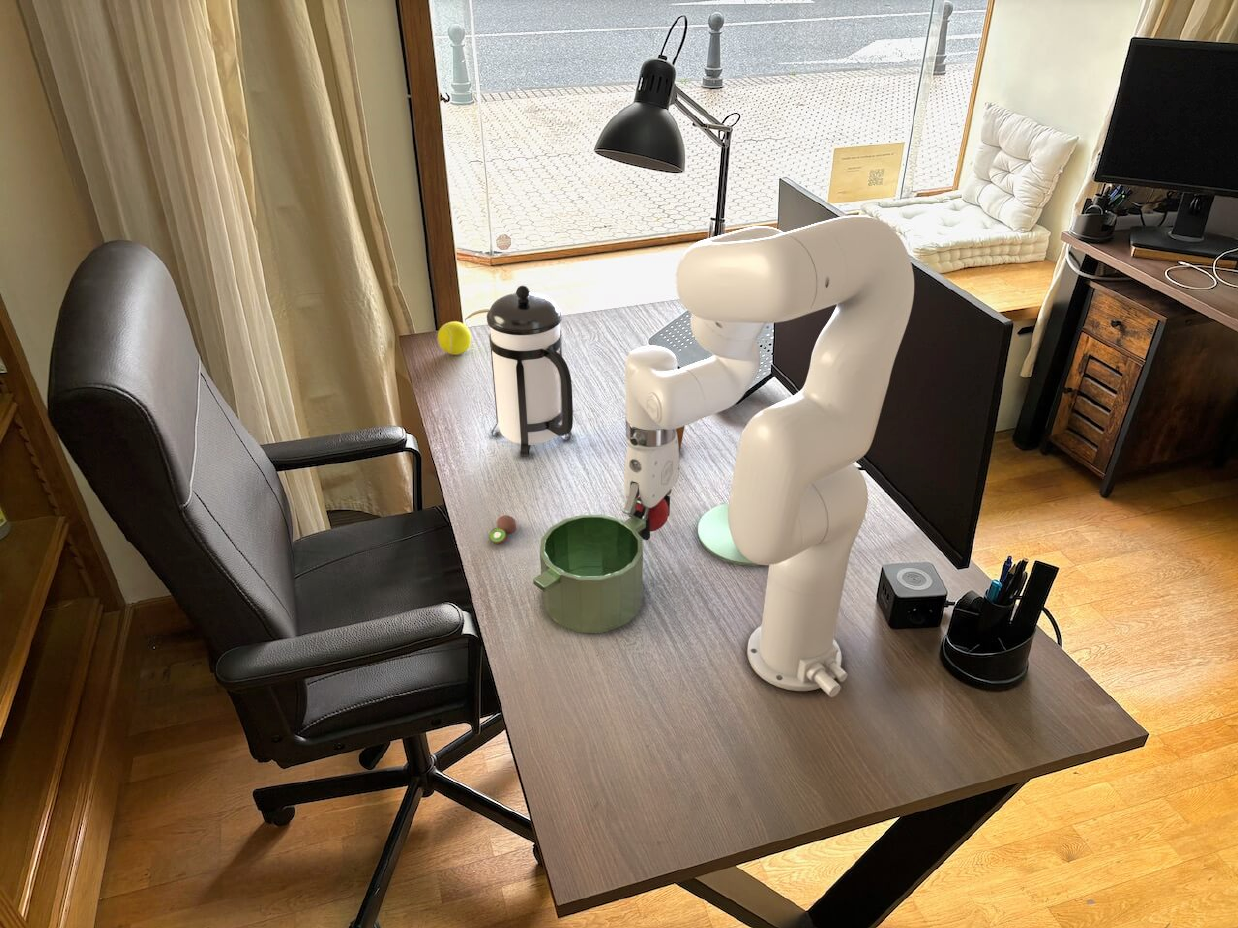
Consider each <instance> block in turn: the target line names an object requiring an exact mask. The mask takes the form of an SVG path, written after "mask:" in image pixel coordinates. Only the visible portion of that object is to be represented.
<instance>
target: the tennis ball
mask: <svg viewBox="0 0 1238 928" xmlns="http://www.w3.org/2000/svg"><path fill="white" fill-rule="evenodd" d="M437 342H438V345H439V347H440V349H442V351H443V352H444V353H446V354H449V355H453V356H457V355H458V356H459V355H461V354H463V353H465V352H467V351H468V350H469V349H470V347H471V344H472V333H471V331H470V329H469V328H468V327H467V326H466V324H465V323H463V322H460V321H457V320H454V321H453V320H452V321H449V322H446V323H444V324H443V325H441V327H440V328H439V330H438V332H437Z"/></svg>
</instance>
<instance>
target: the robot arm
mask: <svg viewBox="0 0 1238 928" xmlns="http://www.w3.org/2000/svg"><path fill="white" fill-rule="evenodd" d="M912 264H913V263H912V261H911V258H910V255H909V253H908V250H907V247H906V245H905V244H904V242H903V240H902V239H901V237H900V236H899V234H898V233H897V232H896V231H895V229H893V227H891V226H890V225H889V224H888V223H887V222H885V221H883V220H881V219H880V218H876V217H871V216H867V215H848V216H842V217H836V218H831V219H828V220H824V221H820V222H817V223H814V224H811V225H807V226H804V227H800V228H797V229H793V230H790V231H786V232H783V231H782V230H780V229H777V228H776V227H775V228H774V227H771V226H762V225H761V226H752V227H751V226H750V227H746V228H742V229H739V230H735V231H732V232H727V233H724V234H720V235H717V236H713V237H710V238H709V237H708V238H706V239H702V240H699V241H698V242H696V243H694V244H692V245H691V246H690V247H688V249H686V251H685V252H684V253H683V255H682V257H681V258H680V260H679V263H678V265H677V267H676V273H675V286H676V292H677V296H678V298H679V300H680V303H681V304H682V306H683V307H684V308H685V309H686V311H688V313H690V314H691V315H690V330H691V333H692V335H693V337H694V339H695V340H696V342H697V343H698V344H699V345H700V346H701V347H702V348H703V349H704V350H705V351H707V352H708V353H710V354H712V355H711V356H710V357H709V358H707V359H704V360H700V361H697V362H695V363H691V364H688V365H686V366H683V367H680V368H679V365H678V363H679V362H678V359H677V356H676V354H674V352H673V351H671V349H668V348H666V347H663V346H658V345H645V346H640V347H637V348H635V349H633V350H631V351H630V352H629V353H628V354H627V356H626V358H625V360H624V361H625V362H624V363H625V364H624V394H625V395H624V396H625V398H624V400H625V405H624V406H625V408H624V409H625V440H626V442H627V445H626V450H625V451H626V453H625V461H624V477H623V478H624V479H623V481H624V483H623V484H624V485H623V486H624V487H623V488H624V497H625V503H624V506H623V507H622V514H625V515H627V516H628V517H629V518H631V517H633V516H636V517H638V518H639V519H641V520H643V521H644V522H646V528H644V529H643V530H641V531H640V532H638V534H639V535H640V536H641V538H642V540H643V541H649V540H650V538H651V532H650V519H649V518H648V513H649V508H652V507H654V506H655V505H657V504H658V503H659V502H660V501H661V499H662V498H664V499H665V500H666V502H667V505H668V508H669V515H668V518H669V517H670V514H671V496H670V495H671V494H672V491H673V490H672V489H673V488H674V486H675V485H676V484H677V482H678V481H679V478H680V452H679V446H678V437H677V432H676V429H677V428H680V427H683V426H685V427H686V426H688V425H691V424H693V423H696V422H698V421H700V420H701V419H704V418H707V417H710V416H712V415H714V414H717V413H720V412H723V411H725V410H728V409H730V408H731V407H733V406H734V405H736V404H737V403H738V402H739V401H740V400H742V398H743V397H744V396H745V394H746V393H747V391H748V389H749V388H750V387H751V385H752V384H753V382H754V381H755V379H756V377H757V376H758V373H759V371H760V366H761V351H760V346H759V342H758V337H759V336H760V334H761V332H762V330H763V329H764V327H765V326H766V324H775V323H776V324H777V323H781V322H782V323H783V322H789V321H792V320H795V319H798V318H801V317H804V316H807V315H810V314H813V313H815V312H818V311H821V310H823V309H827V308H831V307H833V306H835V309H834V311H833V313H832V314H831V317H830V318H829V320H828V321H827V323H826V324H825V326H824V327H823V328H822V330H821V331H820V334H819V336H818V338H817V339H816V342H815V343H814V347H813V350H812V352H811V357H810V358H811V359H810V363H809V367H808V368H809V369H808V372H807V376H806V378H805V382H804V385H803V386H802V388H801V389H800V390H799V391H798V392H796V393H795V394H794V395H792V396H790V397H789V398H787V399H783V400H782V401H779V402H777V403H774V404H772V405H770V406H767V407H765V408H763V409H762V410H760V411H759V412H757V413H756V414H755V415H753V416H752V418H751V419H749V421H748V422H747V423H746V425H745V427H744V429H743V431H742V433H741V435H740V438H739V442H738V446H737V450H736V458H735V463H734V469H733V470H734V471H733V475H732V481H731V487H730V494H729V499H728V500H729V501H728V503H729V509H728V521H729V528H730V532H731V536H732V539H733V541H734V543H735V545H736V547H737V549H738V550H739V551H740V553H741V554H742V555H743V556H744V557H745V558H747V559H748V560H750V561H751V562H754V563H756V564H760V565H759V566H768V573H767V581H766V589H765V597H764V605H763V614H762V620H761V621H762V622H761V625H759V626H758V627H757V628H756V629H755V630H754V631H753V632H752V634H751V635H750V637H749V639H748V642H747V651H746V654H747V659H748V662H749V664H750V666H751V668H752V669H753V670H754V672H755V673H756V674H757V676H759V677H760V678H761V679H762V680H764V681H766V682H767V683H769V684H771V685H773V686H775V687H777V688H780V689H784V690H787V691H794V692H808V691H809V692H810V691H815V690H818V689H821V690H823V692H825V694H826V695H828V696H829V697H830V698H833V697H835V696H837V695H838V694H839V692H840V691H841V689H842V687H841V685H840V683H838V682H841V683H842V682H844V681H845V680H847V678H848V673H847V672H846V671H845V670H844V669H843V668H842V662H843V657H842V651H841V648H840V646H839V643H838V642H837V640H836V639H835V633H836V628H837V624H838V623H837V622H838V619H839V612H840V607H841V601H842V596H843V591H844V586H845V580H846V576H847V571H848V567H849V566H848V565H849V561H850V558H851V557H850V556H851V553H852V550H853V546H854V544H855V541H856V539H857V536H858V534H859V532H860V529H861V527H862V524H863V523H864V519H865V516H866V513H867V509H868V502H869V493H868V487H867V483H866V480H865V478H864V475H863V473H862V471H861V470H860V469H859V468H858V467H857V465H855V463H856V462H858V461H859V460H861V459H862V458H863V457H864V456H865V455H866V454H867V452H868V451H869V450H870V448H871V446H872V443H873V440H874V437H875V434H876V431H877V427H878V424H879V420H880V416H881V413H882V410H883V407H884V406H883V405H884V401H885V398H886V394H887V391H888V387H889V384H890V378H891V374H892V371H893V367H894V364H895V360H896V357H897V354H898V352H899V349H900V346H901V343H902V340H903V338H904V335H905V332H906V329H907V326H908V324H909V320H910V316H911V313H912V309H913V303H914V296H915V275H914V270H913V265H912ZM639 496H640V498H638V497H639ZM637 503H638V504H641V505H644V506H643V511H642V512H641V511H639V510H636V505H637ZM835 679H837V680H838V682H837V681H836V680H835Z"/></svg>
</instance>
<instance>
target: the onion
mask: <svg viewBox="0 0 1238 928" xmlns="http://www.w3.org/2000/svg"><path fill="white" fill-rule="evenodd" d="M638 498H640V495H639V497H638ZM643 506H644V505H641V504H638V503H637V505H636V510H639V511H641V512H642V511H643ZM668 515H669V508H668V505H667V502H666V500H665V499H664V498H662V499H661V501H660V502H659V503H658V504H657V505H655V506H654V507H652V508H649V513H648V518H649V519H650V533H651V532H656V531H658V530H659V529H661V528H662V527H663V526H665V524H666V523H667V522H668V519H669V517H668ZM669 516H670V515H669Z"/></svg>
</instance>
